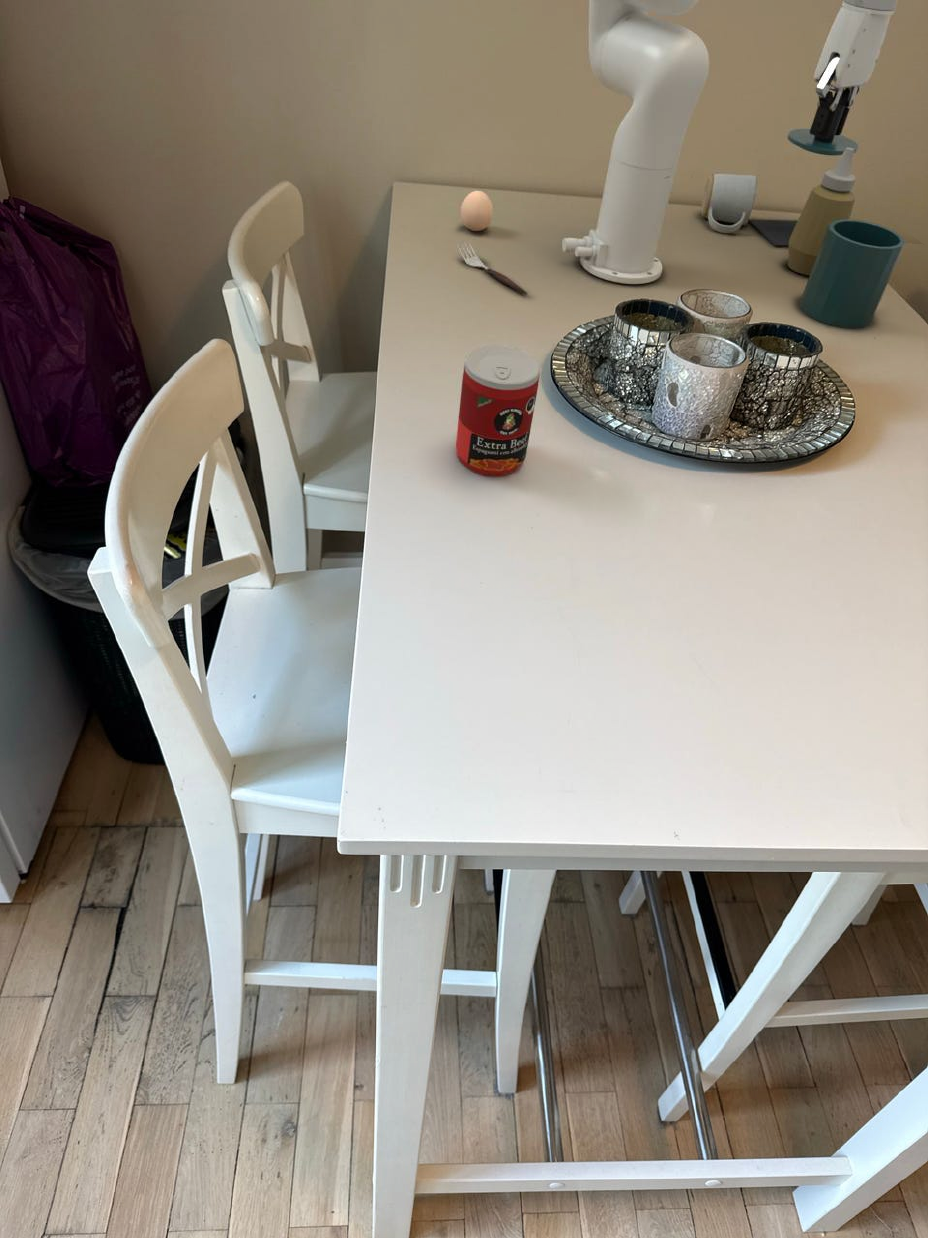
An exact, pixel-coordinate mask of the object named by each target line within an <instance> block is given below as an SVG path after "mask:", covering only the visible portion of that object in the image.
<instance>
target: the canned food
mask: <svg viewBox="0 0 928 1238" xmlns="http://www.w3.org/2000/svg"><path fill="white" fill-rule="evenodd" d="M462 372H463V373H462V379H461V381H462V382H461V389H460V390H461V391H460V400H459V412H458V422H457V430H456V441H455V450H456V455H457V459H458V460H459V462H460V463H461V464H462V466H464V467H465V468H466V469H468V470H469V471H472V472H473V473H476V474H479V475H483V476H489V477H501V476H502V477H503V476H506V475H511V474H513V473H514V472H516V471H517V470H519V469H520V467H521V466H522V465H523V464H524V461H525V459H526V457H527V451H528V446H529V440H530V435H531V431H532V423H533V418H534V412H535V407H536V400H537V395H538V389H539V382H540V376H541V365H540V364H539V362H538V360H537V359H536V358H535V357H534V356H533V355H531V354H530V353H528V352H526V351H524V350H522V349H519V348H517V347H513V346H508V345H500V344H492V345H490V344H489V345H483V346H479V347H476V348H474V349H472V350H471V351H469V352H468V353H467V355H466V356H465V361H464V365H463V371H462Z"/></svg>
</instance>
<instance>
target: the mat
mask: <svg viewBox="0 0 928 1238" xmlns="http://www.w3.org/2000/svg"><path fill="white" fill-rule="evenodd" d="M797 222H798V220H789V219H788V220H785V219H782V220H781V219H749V220H748V222H747V223H748V224H749V225H751V226H752V227H753V228H754V230H756V231H757V232H758V233H759V234H761V236H763V237H764V238H765V239H766V240H767V241H768V242H769V243H770V244H772V245H773V246H774V247H775V248H789V239H790V237H791V235H792V233H793V230H794V228H795V226H796V224H797Z"/></svg>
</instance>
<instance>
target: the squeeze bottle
mask: <svg viewBox="0 0 928 1238" xmlns="http://www.w3.org/2000/svg"><path fill="white" fill-rule="evenodd" d="M854 154H855V153H854V149H853V148H848V147H847V148H846V149H845V151H844V152H843V154H842V155H840V157H839V159H838V160H837V162H836V164H835V166H834V168H833V169H828V170H826V171H824V173H823V176H822V179H821V182H820V183H819V184H817V185H816V186H814V187H812V189H811V191H810V192H809V195H808V198H807V200H806V202H805V204H804V206H803V209H802V210H801V213H800V215H799V217H798V219H797V221H798V222H797V224H796V226H795V228H794V230H793V233H792V235H791V237H790V239H789V247H788V253H787V254H788V256H787V257H788V258H787V259H788V260H787V261H788V262H787V266H788V268H789V269H790V270H792V271H793V272H795V273H799V274H802V275H806V276H810V274H811V271H812V268H813V266H814V263H815V260H816V258H817V255H818V252H819V250H820V247H821V244H822V242H823V239H824V236H825V233H826V231H827V228H828V225H829V224H830V223H831V222H833V221H836V220H841V219H851V215H852V211H853V208H854V204H855V201H856V196H855V195H854V192H853V191H852V190H853V188H854V185H855V182H856V176H855V175H853V174H851V170H852V164H853V159H854Z"/></svg>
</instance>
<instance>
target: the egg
mask: <svg viewBox="0 0 928 1238" xmlns="http://www.w3.org/2000/svg"><path fill="white" fill-rule="evenodd" d="M493 209H494V208H493V204H492V201H491V199H490V197H489V196H488V195H487V194H486V193H485V192H484V191H481V190H474V191H471V192H469V194H467V196H466V197H465V198H464V199H463V201H462V204H461V207H460V218H461V221H462V223H463V226H465V227H466V228H467V229H469V231H473V232H480V231H483V230H484V229H486V228H487V227H488V226H489V225H490V223H491V221H492V219H493V216H494V215H493V214H494V210H493Z"/></svg>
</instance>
